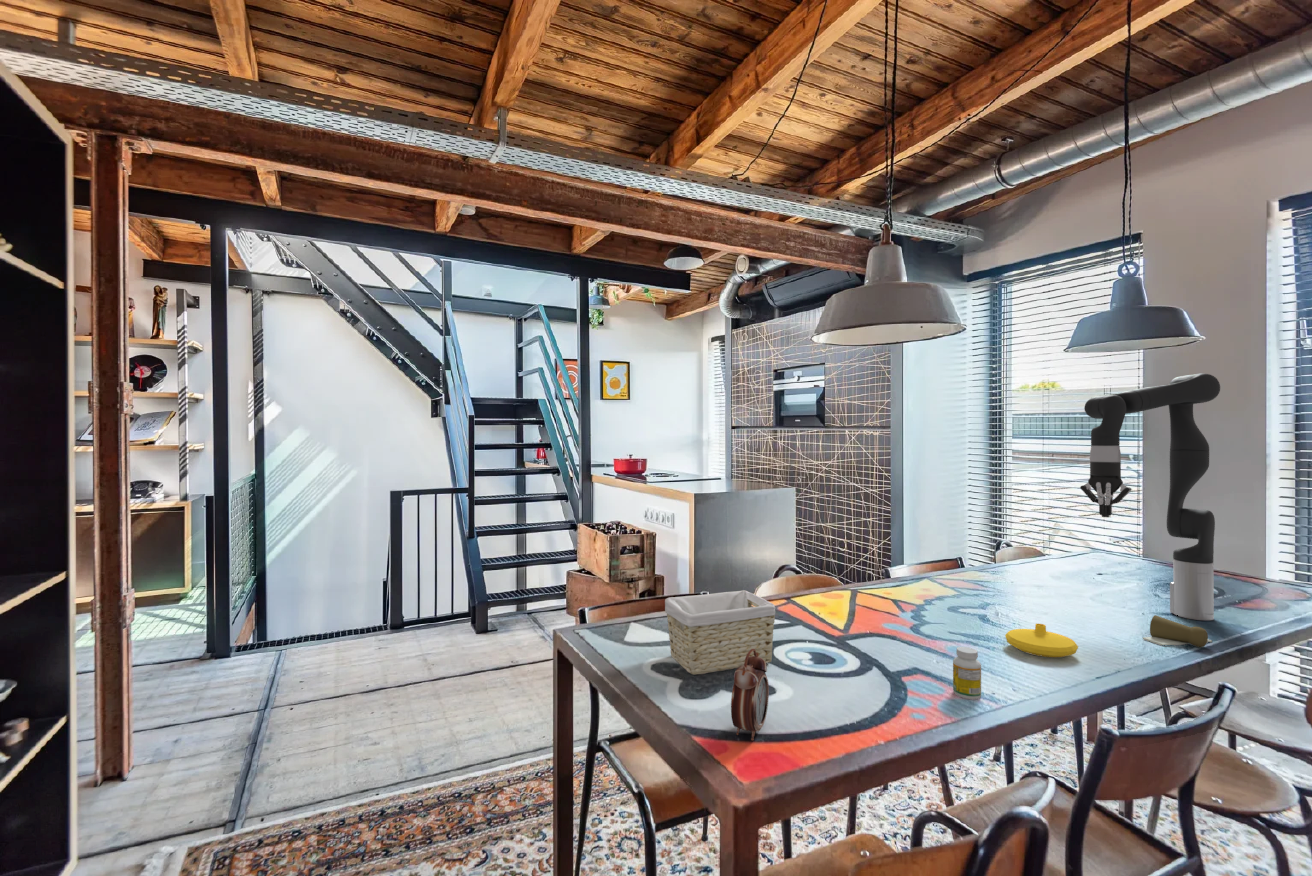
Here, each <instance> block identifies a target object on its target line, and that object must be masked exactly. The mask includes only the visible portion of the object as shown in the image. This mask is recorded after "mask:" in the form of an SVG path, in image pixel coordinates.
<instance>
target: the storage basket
mask: <svg viewBox="0 0 1312 876" xmlns="http://www.w3.org/2000/svg"><path fill="white" fill-rule="evenodd" d="M664 612H665V614H666V618H667V622H668V623H667V629H668V638H669V639H668V640H669V647H670V656H671V658H672V659H673V660H674V661H676V662H677V663H678V665H680V666H681V667H682V668H683V669H685V670H686V672H687V673H689V674H691V675H693V676H694V675H705V674H709V673H715V672H723V671H727V670H733V669H737V668H738V667H740V666H742V665H744V662H745V658H746V656H747V654H748V652H749V651H750V650H751V649H755V650H756V653H758V654H759V655H758V657H760V658H762V659H763V660H764V661H765V662H766V664H768V663H771V662H772V659H773V658H772V656H773V639H774V628H775V625H774V624H775V623H776V622H775V619H776V618H775V615H776V605H775V604H774V603H773V602H770V601H769V600H766V599H765V598H763V597H761V596H758V595H757V594H756V593H755V594H754V593H753V592H749V591H747V590H744V589H742V590H737V591H725V592H715V593H708V594H707V593H706V594H697V595H685V596H675V597H673V596H671V597H667V598H665V600H664ZM750 656H754V652H752V653H751V654H750V655H749V657H750Z"/></svg>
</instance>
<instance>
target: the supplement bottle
mask: <svg viewBox="0 0 1312 876" xmlns="http://www.w3.org/2000/svg"><path fill="white" fill-rule="evenodd" d="M978 653H979V652H978V650H977V649H975V648H973V647H967V646H957V647H956V656H955V657H954V658H953V660H952V691H953V692H952V693H954V695H956V696H957V697H959V698H962V699H964V700H971V701H972V700H973V701H974V700H975V701H976V700H979V699H980V698H981V697H982V664H981V662H980V660H978V657H979V655H978Z"/></svg>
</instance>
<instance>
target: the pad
mask: <svg viewBox="0 0 1312 876" xmlns="http://www.w3.org/2000/svg"><path fill="white" fill-rule="evenodd" d="M1143 639H1144V640H1143ZM1142 640H1143V641H1146V640H1147V642H1149V641H1150V642H1149V643H1153V644H1156V645H1159V646H1162V645H1174V646H1185V644H1186V645H1191V644H1190V643H1188V642H1181V641H1175V640H1170V639H1164V638H1159V637H1152V636H1146V637H1142ZM1208 642H1210V643H1213V640H1212V639H1209V638H1208V641H1207V643H1208ZM1207 643H1206V644H1207ZM1208 644H1209V643H1208Z"/></svg>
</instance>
